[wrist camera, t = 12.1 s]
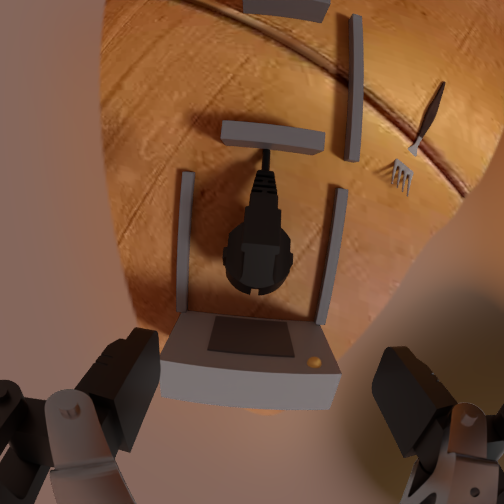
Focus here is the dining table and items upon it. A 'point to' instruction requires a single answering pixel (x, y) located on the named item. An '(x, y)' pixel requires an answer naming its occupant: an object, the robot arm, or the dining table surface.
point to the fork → (418, 139)
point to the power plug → (259, 240)
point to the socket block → (250, 341)
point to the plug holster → (296, 139)
